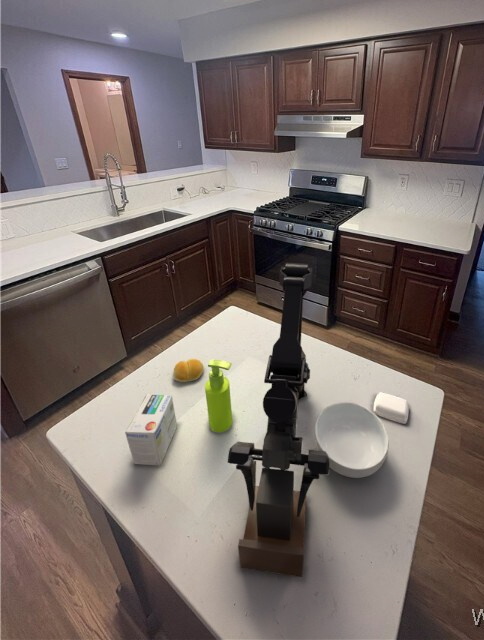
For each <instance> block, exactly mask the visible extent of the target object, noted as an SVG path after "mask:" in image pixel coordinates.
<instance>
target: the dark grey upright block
mask: <svg viewBox="0 0 484 640" xmlns="http://www.w3.org/2000/svg"><path fill="white" fill-rule="evenodd" d="M258 486H259V488H258V494H257V499H256V514H257V534H258V536H260V537H268V538H275V539H282V540H289V541H290V537H291V525H292V513H293V493H294V490H295V471H294V470H289V469H287V470H281V469H280V468H272V467H270V468H265V467H261V472H260V477H259V484H258Z"/></svg>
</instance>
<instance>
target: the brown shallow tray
mask: <svg viewBox="0 0 484 640" xmlns="http://www.w3.org/2000/svg"><path fill="white" fill-rule="evenodd" d="M258 488H259V485H255V501H254V508H253V511H251V510H250V506H249V508H248V513H247V517H246V518H247V519H246V521H245V527H244V533H243V538H239V539H238V545H237V549H238V558H239V568H240V569H245V570H251V571H258V572H265V573H270V574H271V573H272V574H277V575H285V576H292V577H297V578H303V573H304V572H303V571H304V552H305V531H306V512H307V511H306V510H307V496H306V497H305V500H304V503H303V506H302V510H301V513H300V516H299V517H297V508H298V500H299V494H300V490H295V489H294V493H293V513H292V525H291V537H290V541H289V540H282V539H275V538H268V537H260V536H258V534H257V514H256V499H257V494H258Z"/></svg>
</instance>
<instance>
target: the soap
mask: <svg viewBox="0 0 484 640" xmlns="http://www.w3.org/2000/svg"><path fill="white" fill-rule="evenodd" d="M372 412H373V413H374V414H375V415H376V416H378V417H381V418H384V419H386V420H389V421H393V422H396V423H399V424H404V425H406V424H407V422H408V419H409V413H410V411H409V403H408V400H407V399H405V398H401V397H398V396H395V395H393V394H390V393H386V392H382V391H379V392H378V393H377V395H376V396H375V399H374V403H373V411H372Z"/></svg>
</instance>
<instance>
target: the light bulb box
mask: <svg viewBox="0 0 484 640" xmlns="http://www.w3.org/2000/svg"><path fill="white" fill-rule="evenodd" d="M175 410H176V409H175V406H174V401H173V395H172V394H145V396H144V398H143V400H142V402H141V404H140V405H139V408H138V409H137V411H136V413H135V415H134V417H133V418H132V421H131V422H130V423H129V425H128V427H127V428H126V430H125V431H124V434H125V437H126V440H127V444H128V447H129V451H130V454H131V458H132V461H133V464H135V465H145V466H147V465H148V466H161V465H162V464H163V461H164V459H165V456H166V453H167V451H168V450H169V446H170V444H171V441H172V439H173V436H174V434H175V432H176V430H177V427H178V422H177V417H176V411H175Z"/></svg>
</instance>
